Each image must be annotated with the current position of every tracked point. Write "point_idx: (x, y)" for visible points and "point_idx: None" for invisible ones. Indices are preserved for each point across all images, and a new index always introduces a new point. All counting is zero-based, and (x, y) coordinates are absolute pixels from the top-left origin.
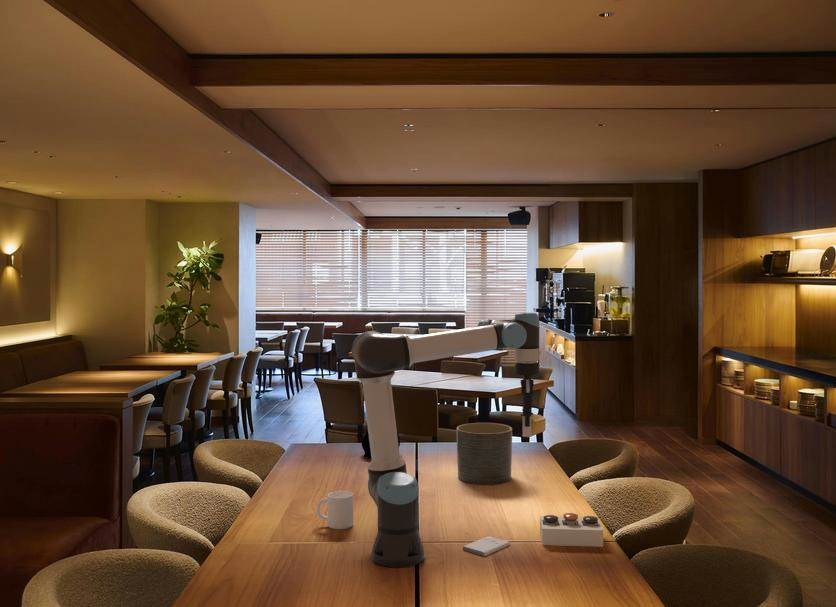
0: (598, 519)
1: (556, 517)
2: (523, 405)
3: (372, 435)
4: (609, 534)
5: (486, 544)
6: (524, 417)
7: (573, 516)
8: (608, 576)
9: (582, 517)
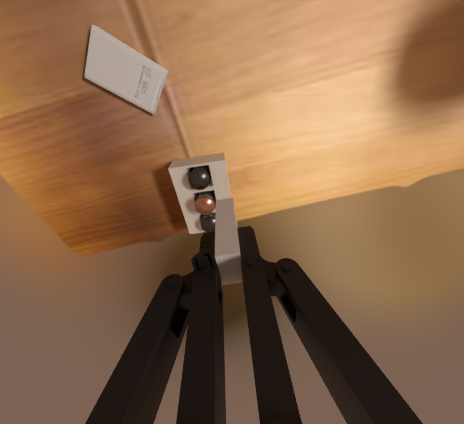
0: None
1: (200, 187)
2: (188, 323)
3: None
4: None
5: (122, 75)
6: (217, 257)
7: (200, 210)
8: (109, 228)
9: None
